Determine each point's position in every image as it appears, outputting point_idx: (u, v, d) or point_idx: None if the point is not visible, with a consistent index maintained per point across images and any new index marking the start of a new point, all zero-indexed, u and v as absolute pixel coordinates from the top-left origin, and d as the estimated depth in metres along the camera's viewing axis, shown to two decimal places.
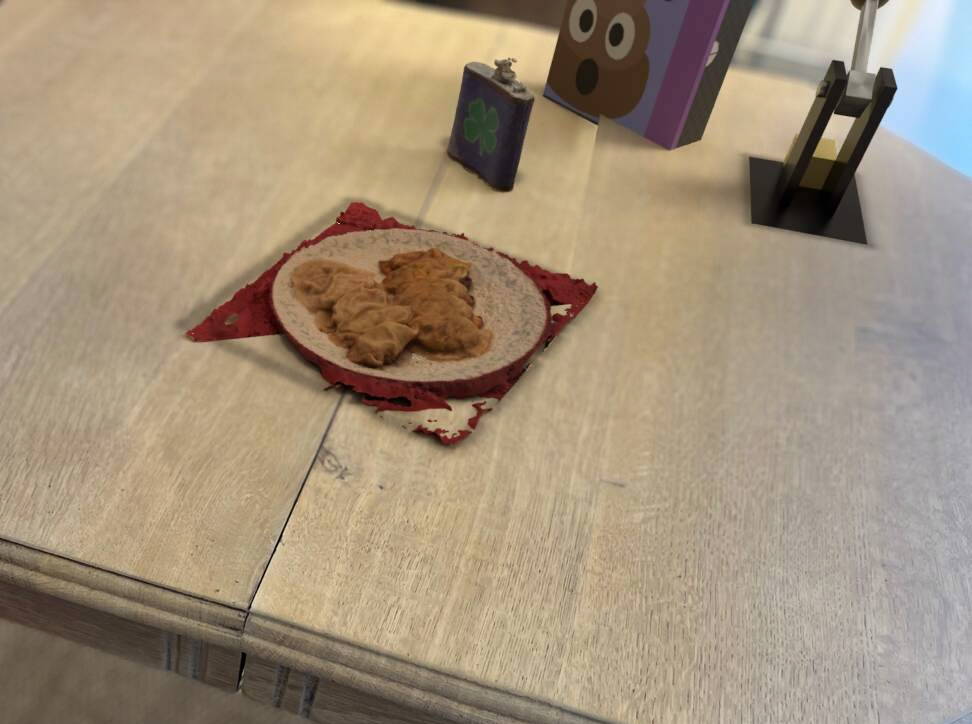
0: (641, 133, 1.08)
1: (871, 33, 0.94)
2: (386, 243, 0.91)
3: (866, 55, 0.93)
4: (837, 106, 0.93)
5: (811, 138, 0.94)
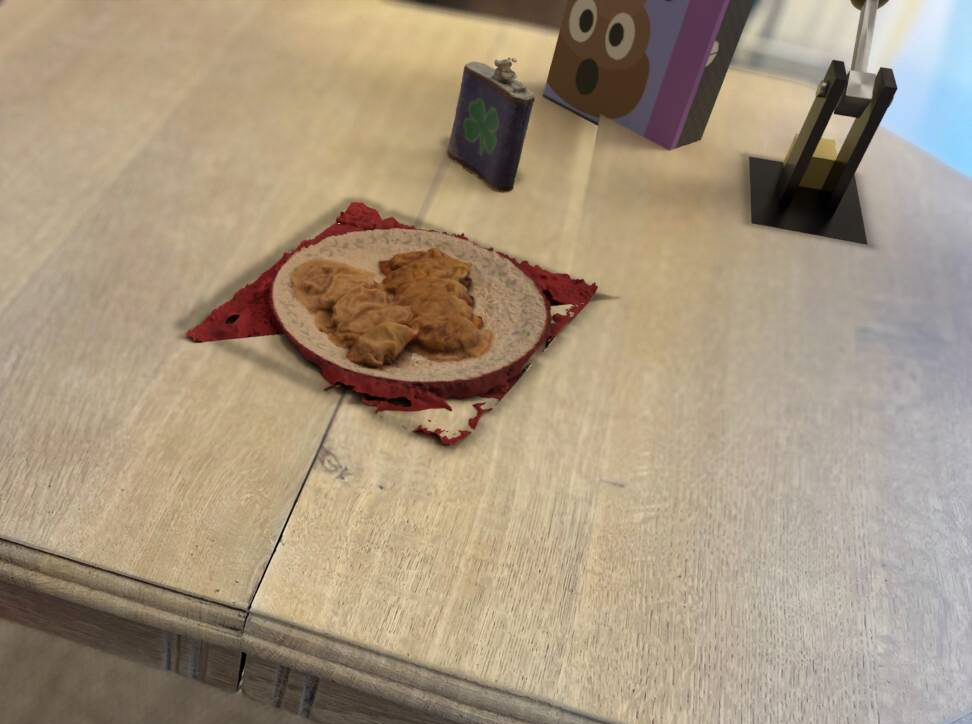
0: (641, 133, 1.08)
1: (871, 33, 0.94)
2: (386, 243, 0.91)
3: (866, 55, 0.93)
4: (837, 106, 0.93)
5: (811, 138, 0.94)
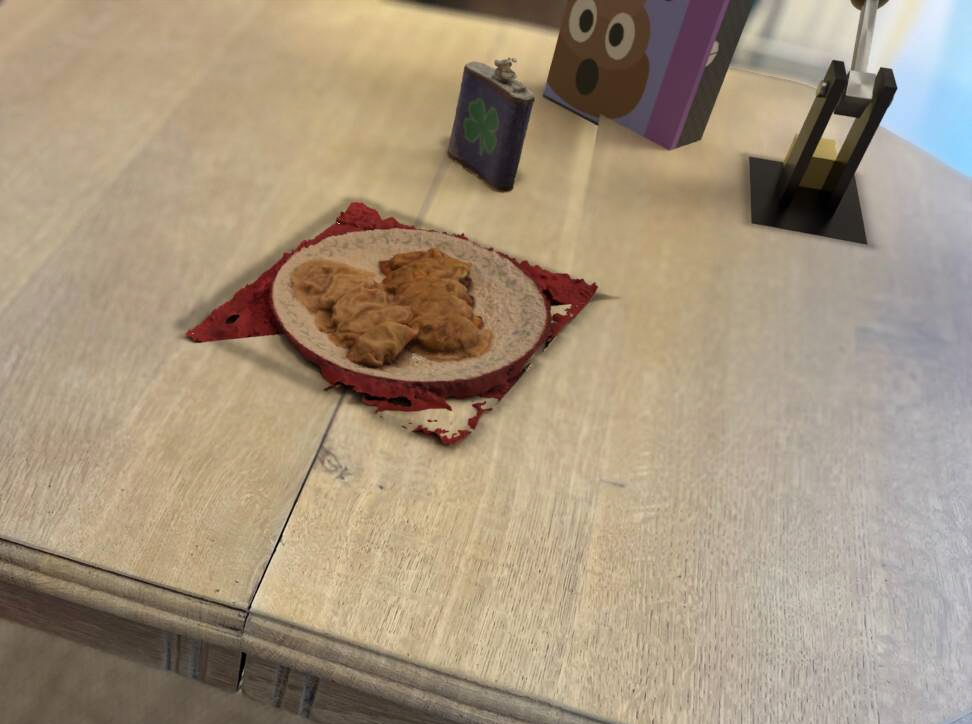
0: (641, 133, 1.08)
1: (871, 33, 0.94)
2: (386, 243, 0.91)
3: (866, 55, 0.93)
4: (837, 106, 0.93)
5: (811, 138, 0.94)
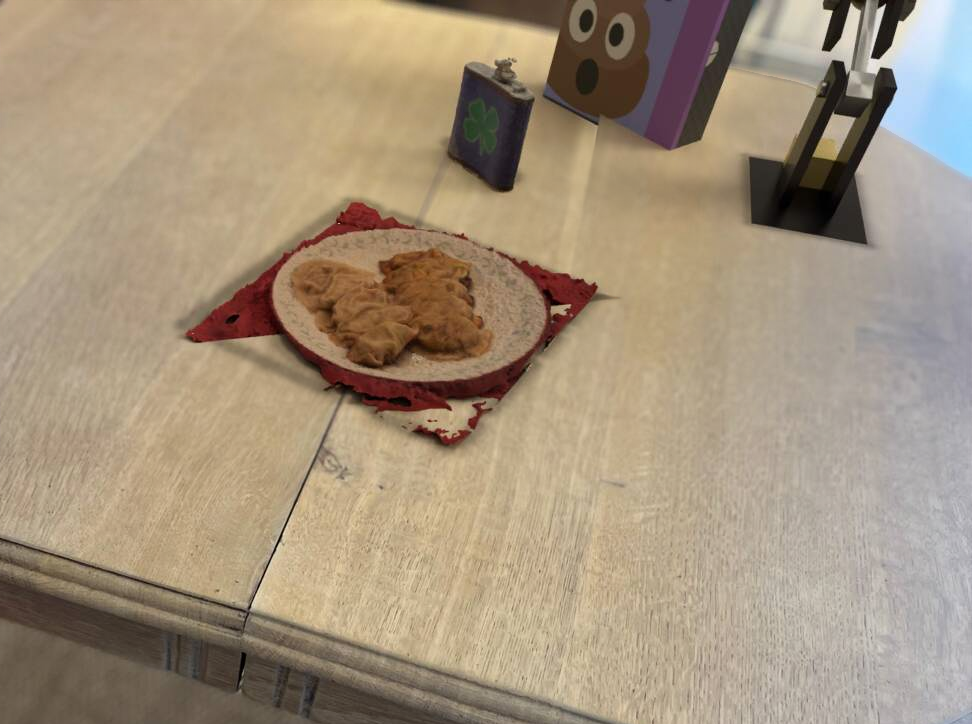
0: (641, 133, 1.08)
1: (871, 33, 0.94)
2: (386, 243, 0.91)
3: (866, 55, 0.93)
4: (837, 106, 0.93)
5: (811, 138, 0.94)
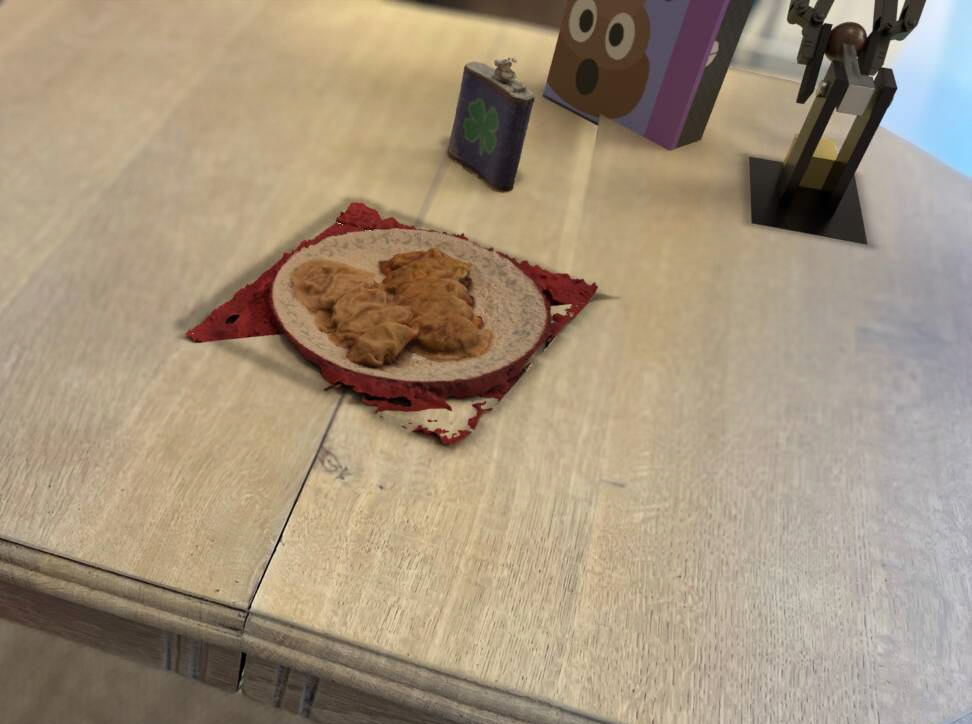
0: (641, 133, 1.08)
1: (856, 60, 0.97)
2: (386, 243, 0.91)
3: (857, 71, 0.95)
4: (840, 102, 0.93)
5: (811, 138, 0.94)
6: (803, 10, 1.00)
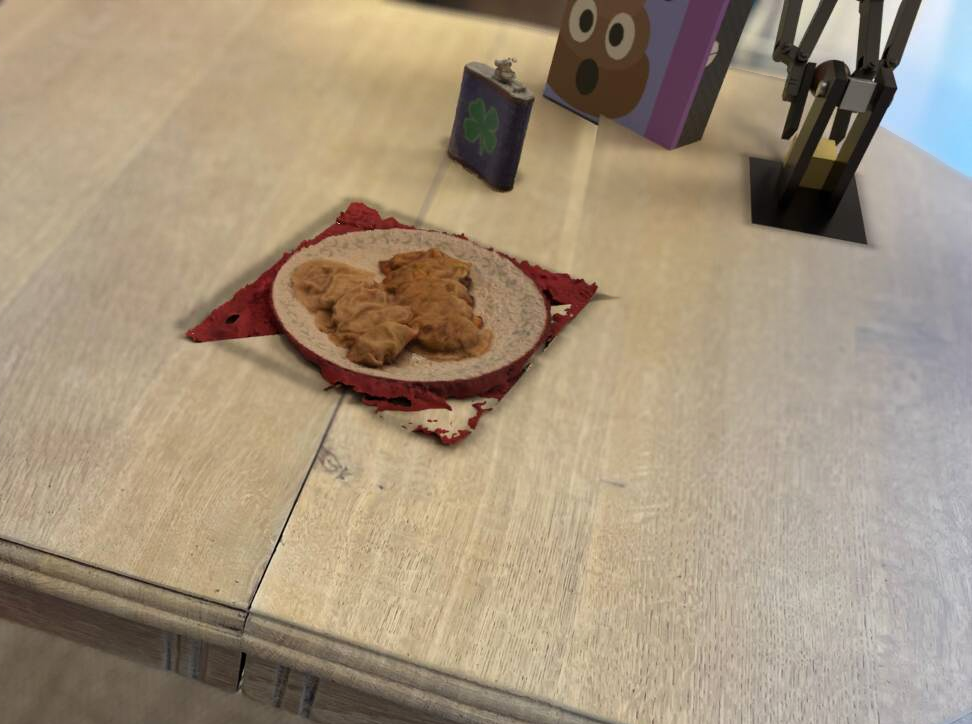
0: (641, 133, 1.08)
1: None
2: (386, 243, 0.91)
3: None
4: (842, 99, 0.92)
5: (811, 138, 0.94)
6: (788, 49, 1.02)
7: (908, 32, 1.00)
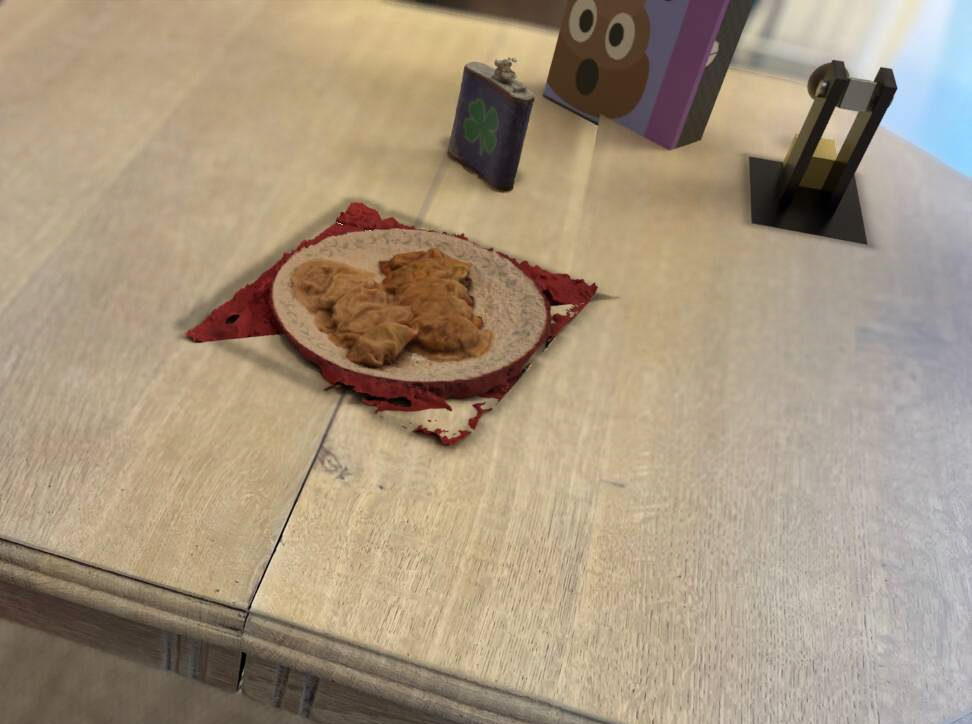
0: (641, 133, 1.08)
1: None
2: (386, 243, 0.91)
3: None
4: (842, 98, 0.92)
5: (811, 138, 0.94)
6: None
7: None
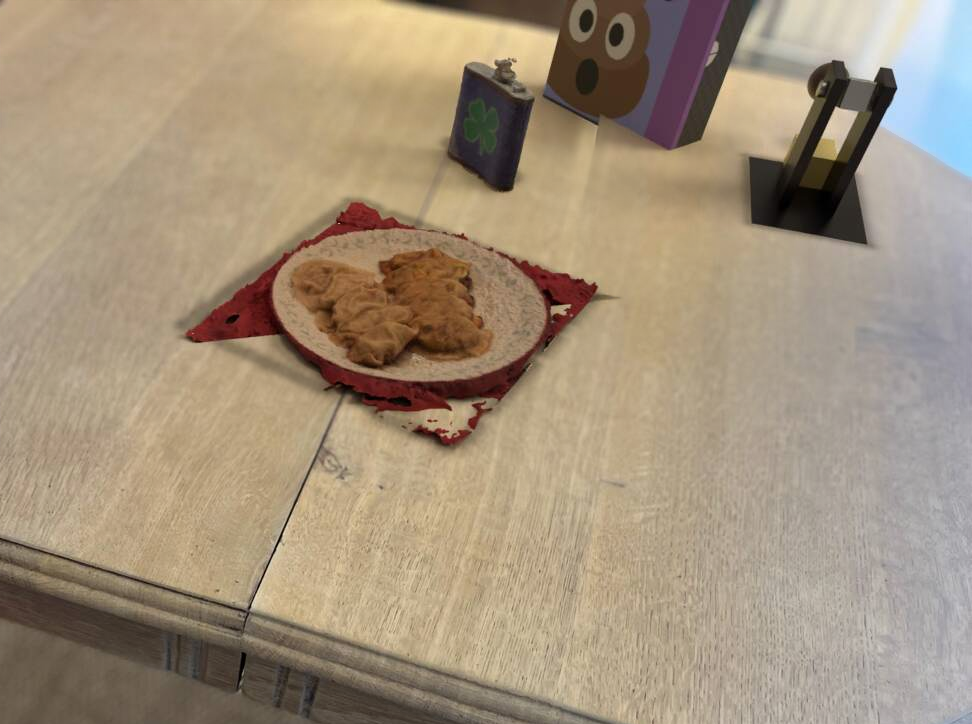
0: (641, 133, 1.08)
1: None
2: (386, 243, 0.91)
3: None
4: (842, 98, 0.92)
5: (811, 138, 0.94)
6: None
7: None
